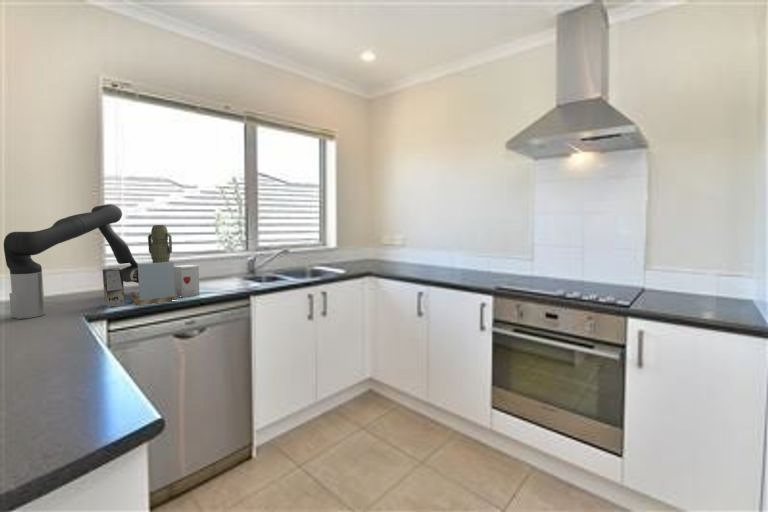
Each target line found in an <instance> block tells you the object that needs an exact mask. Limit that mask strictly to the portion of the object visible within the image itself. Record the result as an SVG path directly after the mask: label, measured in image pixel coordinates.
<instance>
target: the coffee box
mask: <svg viewBox="0 0 768 512" xmlns="http://www.w3.org/2000/svg"><path fill="white" fill-rule="evenodd" d="M122 269H123V268H119V267H117V268H116V267H115V268H103V269H102V283H103V295H104V296H103V297H104V305H105V306H106V305H107V306H108V307H107V306H106V307H107V308H112V307H111V306H116V307H121V306H120V305H124V306H125V290H124V289H125V288H124V287H125V286H124V281H123V270H122Z"/></svg>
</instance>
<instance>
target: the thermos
mask: <svg viewBox="0 0 768 512" xmlns="http://www.w3.org/2000/svg"><path fill="white" fill-rule="evenodd" d="M172 239H173V237H172V235H171V233H169V230H168V228H167V226H166V225H165V224H154V225H153V226H152V228H151V232H150V234H148V236H147V243H148V253H149V254H150V257H151V260H152V263H164V262H170V258H171V254H172V253H173V242H172Z"/></svg>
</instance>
